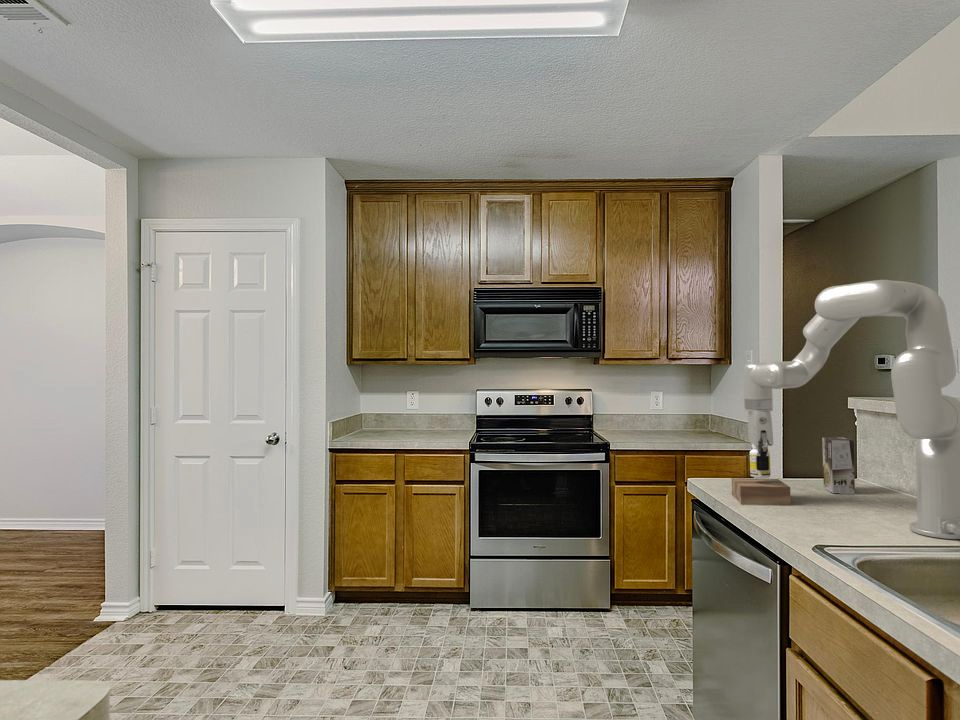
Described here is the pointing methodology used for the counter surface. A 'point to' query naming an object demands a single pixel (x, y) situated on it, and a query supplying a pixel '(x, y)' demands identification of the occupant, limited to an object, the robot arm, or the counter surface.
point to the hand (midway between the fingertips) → (760, 467)
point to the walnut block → (761, 491)
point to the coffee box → (838, 465)
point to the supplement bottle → (753, 467)
